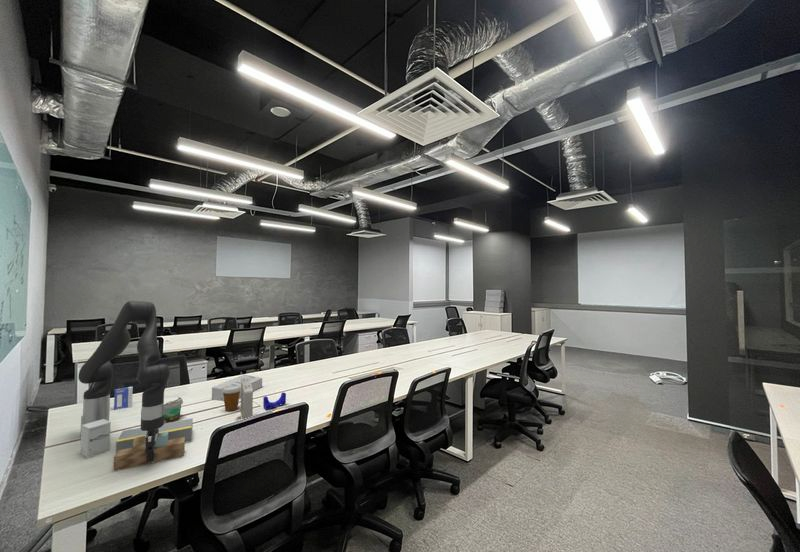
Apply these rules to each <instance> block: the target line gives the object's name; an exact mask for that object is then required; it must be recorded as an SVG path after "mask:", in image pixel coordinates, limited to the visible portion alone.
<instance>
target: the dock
mask: <svg viewBox="0 0 800 552" xmlns="http://www.w3.org/2000/svg"><path fill="white" fill-rule="evenodd" d="M193 422H194V421H193V418H188V419H180V420H177V421H175V422H169V423H164V425H163V426H162V427H160V428H158V430H159V433H162V432H167V431H168V440H172V439H177V438H182V437H185V443H190V442H192V437H193V427H194V426H193V424H194V423H193ZM147 432H148V431H142V430H141V427H137V428H131V429H126V430H122V432H121V433H120V435H119V437H118V438H117V440H116V441H115V453H116V452H117V451H118V450H123V449H128V448H133V441H134V439H135V437H141V436H146V434H147Z"/></svg>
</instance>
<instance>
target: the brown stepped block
mask: <svg viewBox="0 0 800 552" xmlns="http://www.w3.org/2000/svg"><path fill="white" fill-rule="evenodd" d="M185 443H186V442H185V437H182V438H177V439H172V440H168V444H167V445H166V446H161V447H156V448H155V447H154V449H155V450H154V460H153V461H151V462H147V453H145V450H141V451H136V452H133V448H128V449H123V450H118V451H117V452H116V451H115V454H114V456H113V464H112V465H113V468H112V470H115V471H119V470H118V469H120V470H124V469H129V468H133V467H139V466H144V465H148V463H149V464H153V463H152V462H154V463H158V461H159V462H162V460H163V461H167V460H172V459H177V457H178V458H181V457H182V456H183V457H184V456H185ZM151 448H152V446H149V447H148V449H151ZM143 464H144V465H143Z"/></svg>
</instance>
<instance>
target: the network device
mask: <svg viewBox="0 0 800 552" xmlns="http://www.w3.org/2000/svg"><path fill="white" fill-rule="evenodd" d="M253 394H254V391H253V389H252V386H251V383H250V380H249V378H241V397H240V415H238V416H236V417H235V419H234V420H235V421H234V422H236V421H237V420H238V421H239V419H241V420H242V419H245V418H248V417H251V416H253V415H254V413H253V409H254V408H253V407H254V406H253V404H254V401H253V400H254V398H253V397H254V395H253ZM241 417H242V418H241Z"/></svg>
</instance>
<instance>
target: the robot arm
mask: <svg viewBox="0 0 800 552" xmlns="http://www.w3.org/2000/svg"><path fill="white" fill-rule="evenodd" d="M129 323H144V325H145V329H144V331H143V332H142V334H141V336H140V338H139V339H138V341H137V344H136V350H137V355H138V370H137V374H136V381H137V383H138V384H139V385H141V386H147V385H152V384H155V385H154V386H152V387H151V388H148V389H146V390H144V391H143V392H142V395H141V396H142V397H141V409H140V428H141V430H142V431H148V432H147V434H146V436H145V440H146V443H145V446H146V448H145V453H147V462H151V461H153V460H154V450H155V449H154V447H155V445H156V443H157V437H158V434H159V430H158V428H160V427H162V426H163V425H164V404H165V402H164V401H165V398H164V397H165V390H166V386H167V383H168V381H169V378H170V374H171V369H170V367H169V365H167V364H166V363H161V364H155V365H152V364H154V363H157V362H158V361H159V360H161V352H160V348H159V344H158V334H157V331H158V328H157V323H158V322H157V310H156V305H155V304H154V303H153V302H151V301H144V300H141V301H140V300H128V301H127V302H125V303H124V305H123V306H122V307H121V309H120V311H119V312H118V315H117V317H116V319H115V321H114V323H113V325H111V327H110V329H109V330H108V332H107V333H106V334H105V336H104V337H103V338H102V340H101V342H100V343H99V344H98V347H97V348H96V349H95V351H94V352H93V353H92V355H91V356H90V357H89V358H88V359H87V360H86V361H85V362H84V364H83V365H82V366H81V367H80V369H79V372H78V380H79V382H80V383H81V384H86V385H89V384H95V383H96V384H95V385H93V386H92V387H90V388H88V389H87V390H85V391H84V392H83V395H82V396H83V397H82V399H83V403H82V406H83V407H82V414H81V417H80V426H81V425H83V424H87V423H91V422H94V421H98V420H102V419H105V420H107V421H109V422H110V415H111V414H110V411H111V410H110V407H111V402H110V401H111V390H112V385H113V384H112V383H113V375H114V374H113V373H114V368H113V364H112V362H111V361H112V360H113V359H115V358H116V357H118V356H120V355H121V354H122V353H123V352H124V351H125V350H126V348H127V347H128V346H129V344H130V342H131V334H130V332H129V330H128V328H127V326H128V324H129ZM149 446H152V448H151V449H148V447H149Z"/></svg>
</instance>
